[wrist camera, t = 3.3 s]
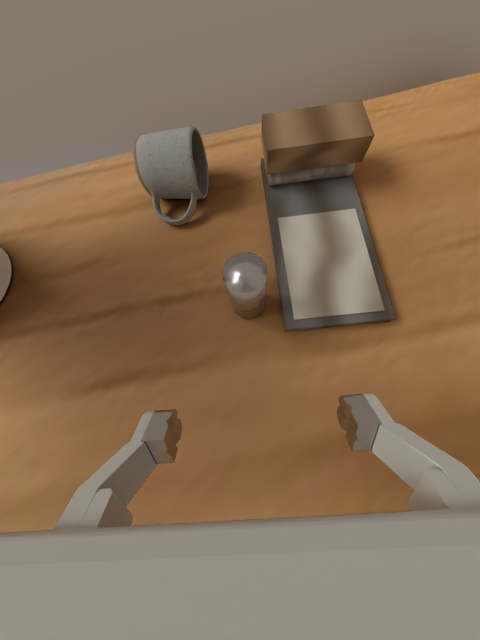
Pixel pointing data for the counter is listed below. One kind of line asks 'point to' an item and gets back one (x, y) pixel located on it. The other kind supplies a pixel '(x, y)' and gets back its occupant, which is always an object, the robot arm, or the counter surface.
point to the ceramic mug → (172, 168)
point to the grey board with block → (321, 217)
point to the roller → (246, 284)
